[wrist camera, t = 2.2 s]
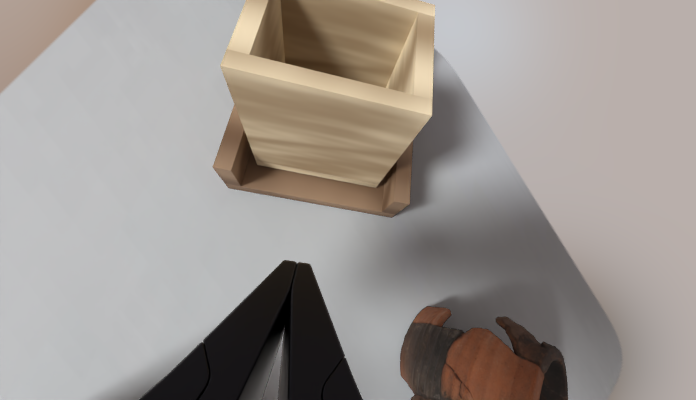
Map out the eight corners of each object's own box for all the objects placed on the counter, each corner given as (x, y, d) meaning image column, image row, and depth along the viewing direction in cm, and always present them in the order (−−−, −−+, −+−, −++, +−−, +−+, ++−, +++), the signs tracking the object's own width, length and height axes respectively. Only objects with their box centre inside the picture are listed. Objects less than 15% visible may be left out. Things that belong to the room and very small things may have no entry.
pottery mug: (439, 273, 22) (558, 299, 16) (467, 352, 25) (581, 404, 18) (342, 393, 16) (478, 525, 9) (393, 486, 18) (531, 645, 11)
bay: (391, 217, 22) (421, 195, 17) (228, 188, 21) (201, 152, 15) (403, 65, 28) (428, 12, 23) (277, 33, 27) (271, -34, 21)
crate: (375, 187, 22) (432, 115, 12) (257, 164, 21) (220, 65, 11) (383, 111, 24) (434, 5, 15) (279, 87, 23) (264, -46, 14)
